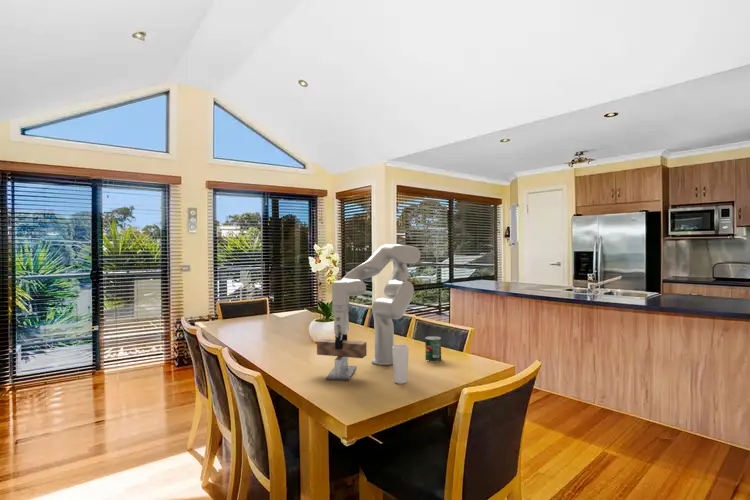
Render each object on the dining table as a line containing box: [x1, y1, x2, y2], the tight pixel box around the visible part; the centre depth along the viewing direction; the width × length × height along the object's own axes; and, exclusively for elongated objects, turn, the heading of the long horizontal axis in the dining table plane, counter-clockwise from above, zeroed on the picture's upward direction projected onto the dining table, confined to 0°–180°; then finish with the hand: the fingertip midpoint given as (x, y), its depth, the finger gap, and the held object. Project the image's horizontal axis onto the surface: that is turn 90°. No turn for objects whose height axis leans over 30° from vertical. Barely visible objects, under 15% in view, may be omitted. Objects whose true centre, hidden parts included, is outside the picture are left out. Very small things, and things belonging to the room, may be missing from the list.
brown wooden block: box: [316, 338, 368, 359], centre depth 172 cm, size 22×5×6 cm, turn 71°
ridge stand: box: [325, 356, 357, 382], centre depth 172 cm, size 10×18×8 cm, turn 172°
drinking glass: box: [392, 343, 409, 385], centre depth 161 cm, size 7×7×15 cm
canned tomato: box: [424, 335, 442, 362], centre depth 193 cm, size 8×8×11 cm
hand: (341, 346), depth 172 cm, fingers open, 9 cm apart
